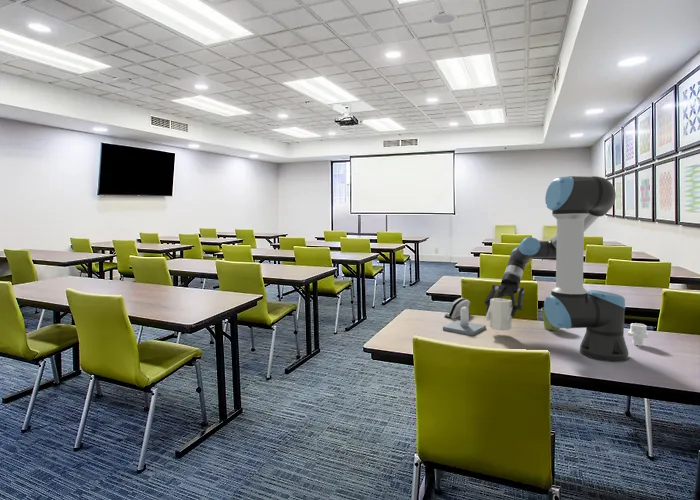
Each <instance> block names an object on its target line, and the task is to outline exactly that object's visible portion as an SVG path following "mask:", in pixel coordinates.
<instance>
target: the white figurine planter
mask: <svg viewBox="0 0 700 500" xmlns="http://www.w3.org/2000/svg"><path fill="white" fill-rule="evenodd" d="M629 328H630V329H629V330H628V332H627V335H628V336H630V337H632V345H633V344H634V345H633V346H635V345H638V346H637V347H642V346H643V344H644V339H648V337H649V333H648V332H647V328H648V327H647V325H646V324H644V323H637V322H635V323H633V322H632V323H630V327H629ZM641 345H642V346H641Z"/></svg>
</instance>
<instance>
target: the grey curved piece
mask: <svg viewBox="0 0 700 500" xmlns="http://www.w3.org/2000/svg"><path fill="white" fill-rule="evenodd" d="M470 304H471V301H470V300H469V299H466V298H464V297H459V298H457V299H455V300H453V302H452V303H451V304H450V307H449V308H448V311H447V313H445V314H444V315H443V318H447V317H449V318H450V319H454V320H455V319H457V318H458V317H461V308H462V307H467V308H468V309H469V307H470ZM448 313H449V314H448ZM446 316H447V317H446Z"/></svg>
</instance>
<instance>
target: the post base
mask: <svg viewBox="0 0 700 500" xmlns="http://www.w3.org/2000/svg"><path fill="white" fill-rule="evenodd" d="M469 311H470V310H469V307H468V308H467V307H462V308H461V315H460V320H458V319H457V320H455V321H453V322H450V323H449V324H446V325H444V326H442V330H443V331H446V332H452V333H456V334H461V335H467V336H471V337H472V336H475V335H477V334H478V333H481V332H482V331H484V330H486V329H487V325H486V324H481V323H475V322H469V315H470V313H469Z"/></svg>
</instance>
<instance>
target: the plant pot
mask: <svg viewBox="0 0 700 500" xmlns="http://www.w3.org/2000/svg"><path fill="white" fill-rule="evenodd" d="M540 311H541V312H542V317H543V327H544V329H545V330H547V331H549V330H550V331H553V332H554V331H559V330H560V329H561V328H556V327H554V326H553V325H552V324H551V323H550V322H549V321H548V319H547V317H546V314H545V310H544V307H541V309H540Z"/></svg>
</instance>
